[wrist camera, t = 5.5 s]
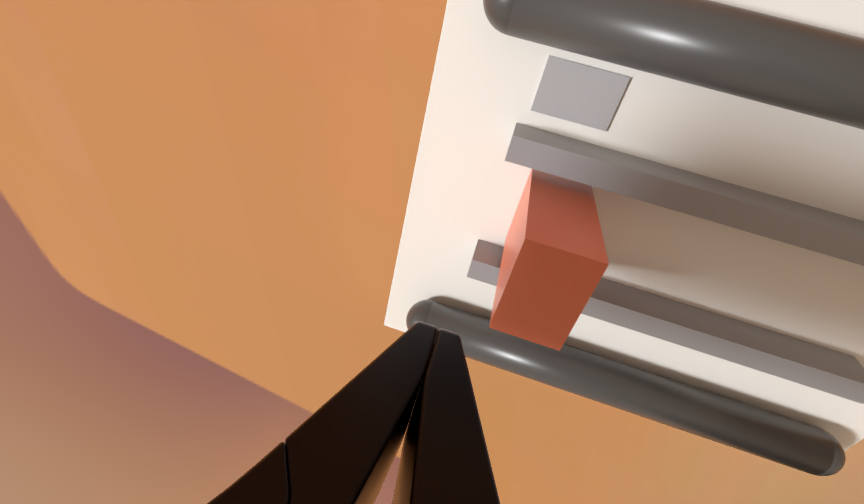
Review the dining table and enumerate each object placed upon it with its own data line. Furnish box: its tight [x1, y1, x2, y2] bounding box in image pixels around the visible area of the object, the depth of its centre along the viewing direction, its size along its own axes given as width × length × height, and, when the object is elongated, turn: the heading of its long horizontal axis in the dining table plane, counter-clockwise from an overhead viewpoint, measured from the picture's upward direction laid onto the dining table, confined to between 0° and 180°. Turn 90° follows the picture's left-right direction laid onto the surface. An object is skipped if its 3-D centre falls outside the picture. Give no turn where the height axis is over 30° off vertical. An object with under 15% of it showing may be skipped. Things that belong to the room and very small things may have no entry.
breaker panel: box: [384, 0, 864, 476], centre depth 14 cm, size 20×16×4 cm
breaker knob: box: [489, 169, 609, 351], centre depth 12 cm, size 2×3×5 cm, turn 168°
